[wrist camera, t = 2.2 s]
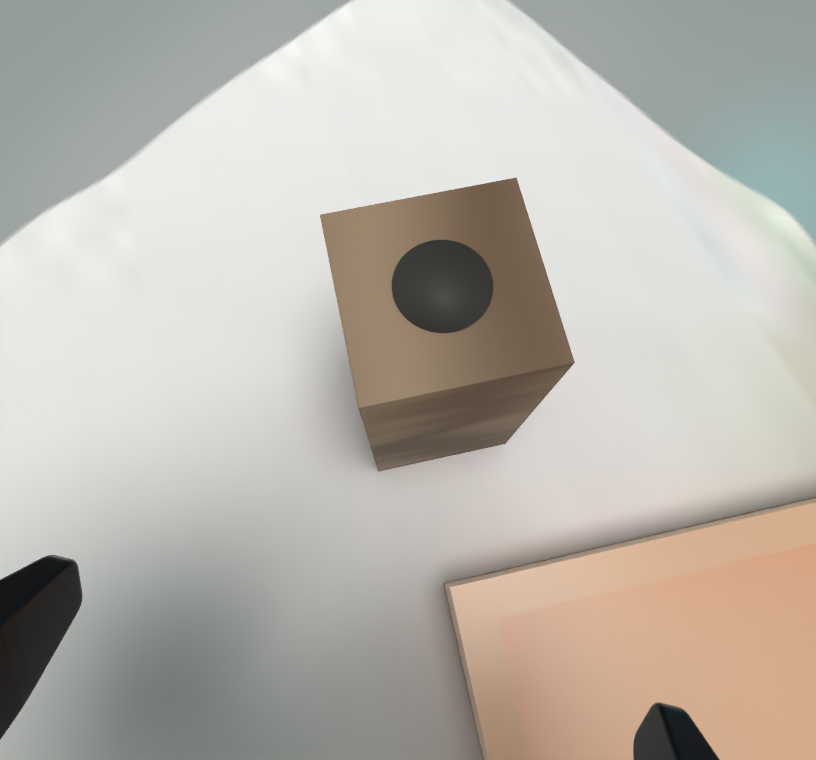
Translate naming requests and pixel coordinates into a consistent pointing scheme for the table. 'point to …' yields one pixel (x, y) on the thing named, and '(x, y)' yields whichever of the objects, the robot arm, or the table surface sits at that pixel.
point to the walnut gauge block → (445, 319)
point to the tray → (649, 642)
